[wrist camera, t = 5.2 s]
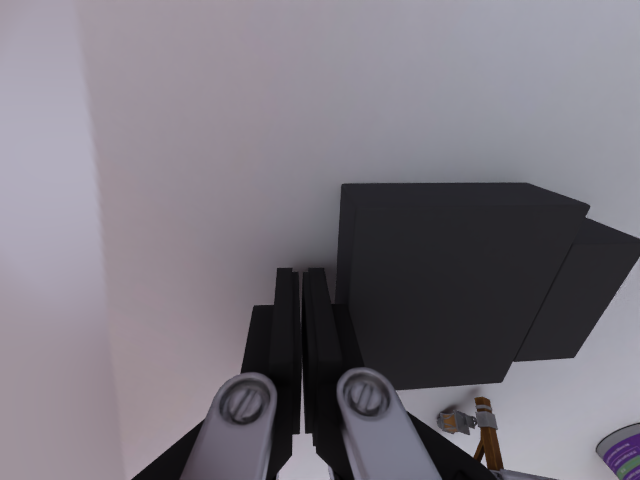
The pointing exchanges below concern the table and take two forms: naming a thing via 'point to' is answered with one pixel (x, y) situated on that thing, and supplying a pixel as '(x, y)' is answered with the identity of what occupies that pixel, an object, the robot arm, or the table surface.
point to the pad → (472, 277)
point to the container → (622, 452)
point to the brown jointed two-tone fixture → (488, 431)
